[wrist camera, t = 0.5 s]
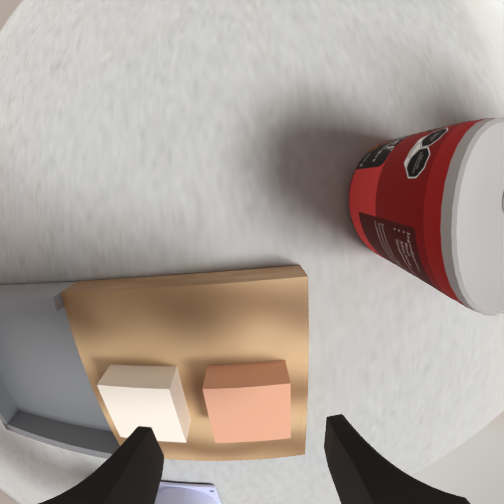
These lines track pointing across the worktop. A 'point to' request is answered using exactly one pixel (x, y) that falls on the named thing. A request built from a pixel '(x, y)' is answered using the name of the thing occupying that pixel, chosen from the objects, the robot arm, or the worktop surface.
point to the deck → (198, 341)
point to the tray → (47, 373)
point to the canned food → (439, 209)
